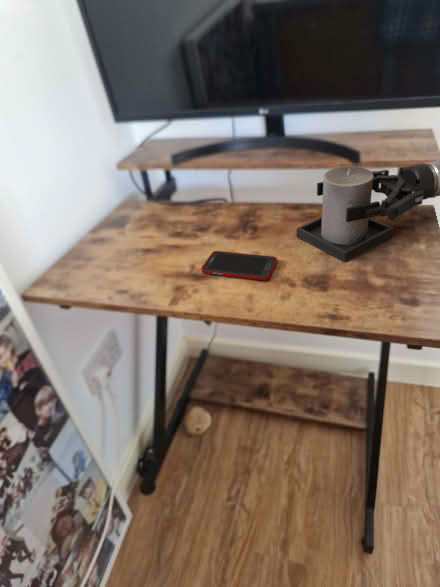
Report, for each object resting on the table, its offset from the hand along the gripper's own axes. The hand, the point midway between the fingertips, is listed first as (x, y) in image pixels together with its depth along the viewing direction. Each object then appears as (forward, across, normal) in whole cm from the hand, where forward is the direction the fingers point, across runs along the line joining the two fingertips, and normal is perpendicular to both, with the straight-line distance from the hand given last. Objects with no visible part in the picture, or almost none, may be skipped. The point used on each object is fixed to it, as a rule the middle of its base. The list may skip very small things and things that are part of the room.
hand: (331, 201), depth 83 cm
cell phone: (+21, -2, -9) cm, 23 cm away
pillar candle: (-3, 0, -9) cm, 9 cm away
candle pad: (-3, 0, -9) cm, 10 cm away
